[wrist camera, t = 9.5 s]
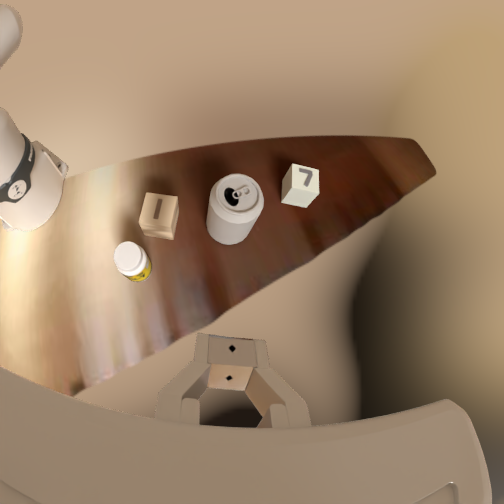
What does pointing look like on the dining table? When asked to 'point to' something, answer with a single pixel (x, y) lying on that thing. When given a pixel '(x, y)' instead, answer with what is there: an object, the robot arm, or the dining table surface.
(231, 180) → the can
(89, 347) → the dining table surface
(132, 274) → the supplement bottle
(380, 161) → the dining table surface
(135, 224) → the dining table surface
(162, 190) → the dining table surface
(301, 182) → the cream white block seven
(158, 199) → the birch block one
